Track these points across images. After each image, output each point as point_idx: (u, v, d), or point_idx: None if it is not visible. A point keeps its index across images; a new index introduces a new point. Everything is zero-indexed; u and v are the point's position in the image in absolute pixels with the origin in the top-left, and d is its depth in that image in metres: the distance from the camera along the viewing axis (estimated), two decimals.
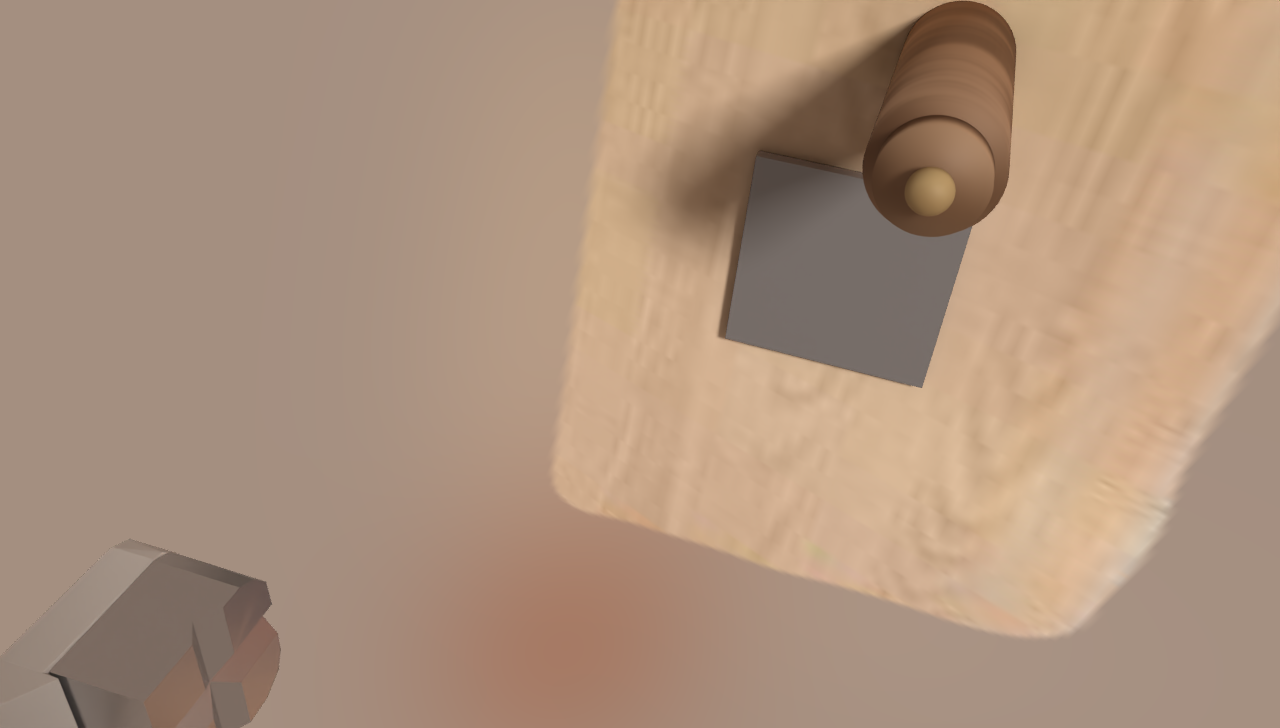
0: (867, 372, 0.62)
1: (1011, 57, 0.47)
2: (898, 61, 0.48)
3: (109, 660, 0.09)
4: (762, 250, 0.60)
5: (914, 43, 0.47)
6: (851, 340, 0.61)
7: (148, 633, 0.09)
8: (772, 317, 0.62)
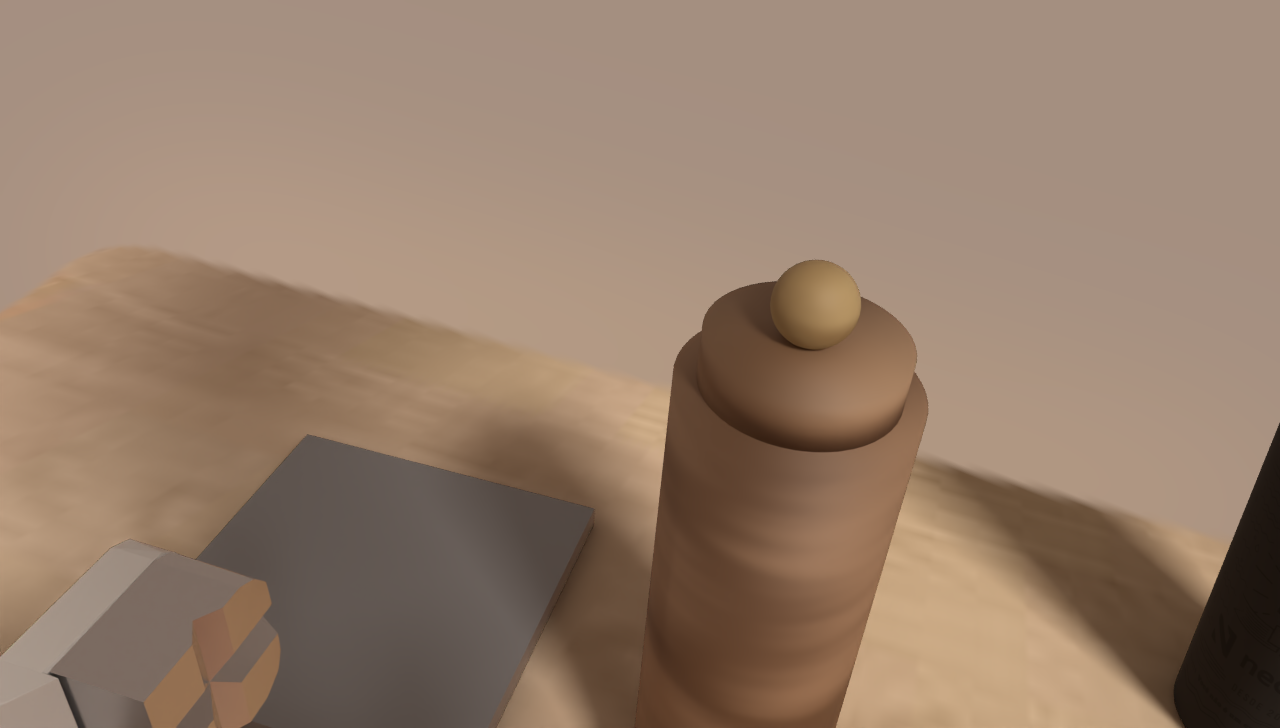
0: None
1: None
2: None
3: (109, 660, 0.09)
4: (442, 494, 0.39)
5: None
6: None
7: (148, 633, 0.09)
8: (324, 490, 0.39)
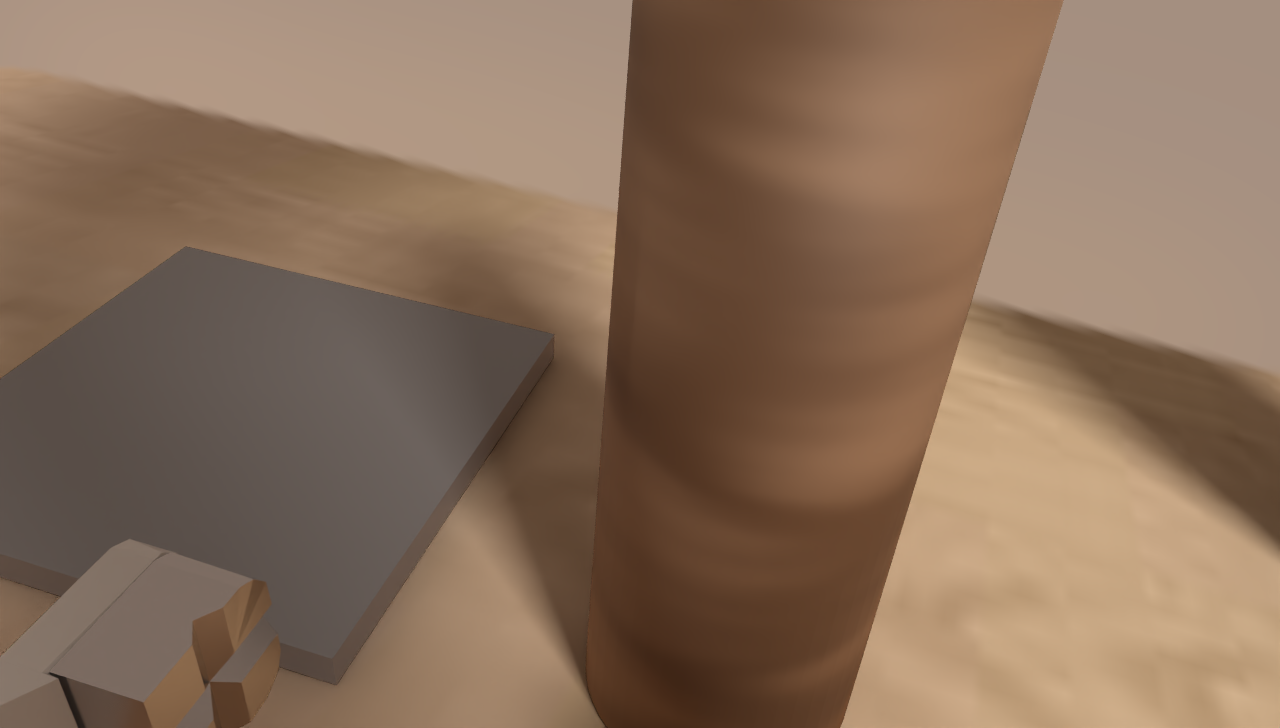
0: None
1: (801, 649, 0.17)
2: None
3: (109, 660, 0.09)
4: (354, 314, 0.29)
5: None
6: (67, 398, 0.26)
7: (148, 633, 0.09)
8: (197, 304, 0.29)
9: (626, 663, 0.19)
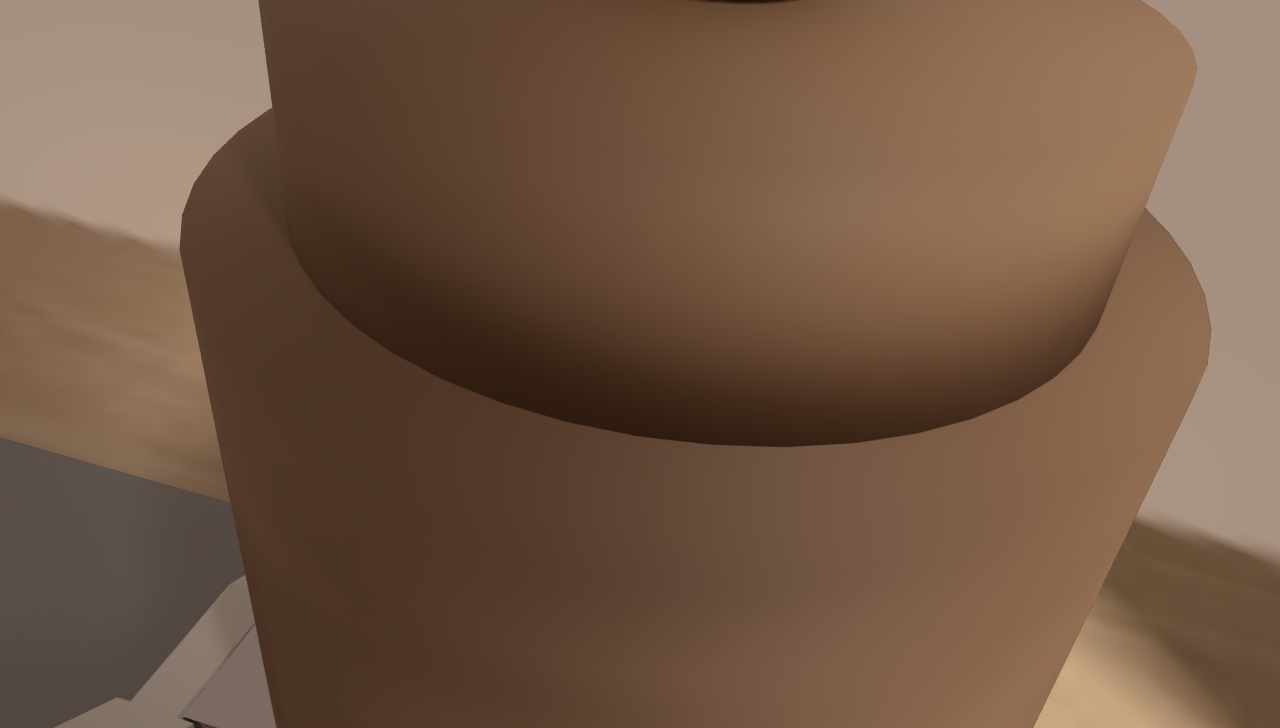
0: None
1: None
2: None
3: (243, 703, 0.09)
4: (151, 530, 0.23)
5: None
6: None
7: None
8: None
9: None
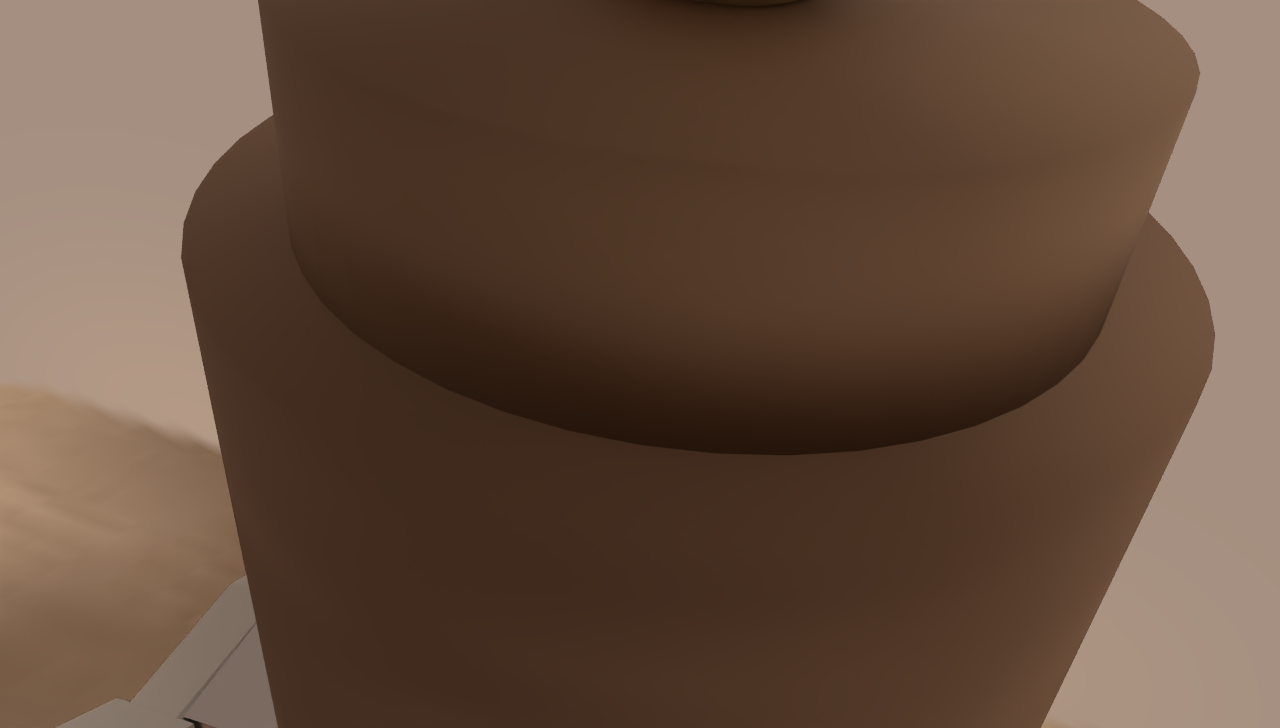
0: None
1: None
2: None
3: (243, 704, 0.09)
4: None
5: None
6: None
7: None
8: None
9: None
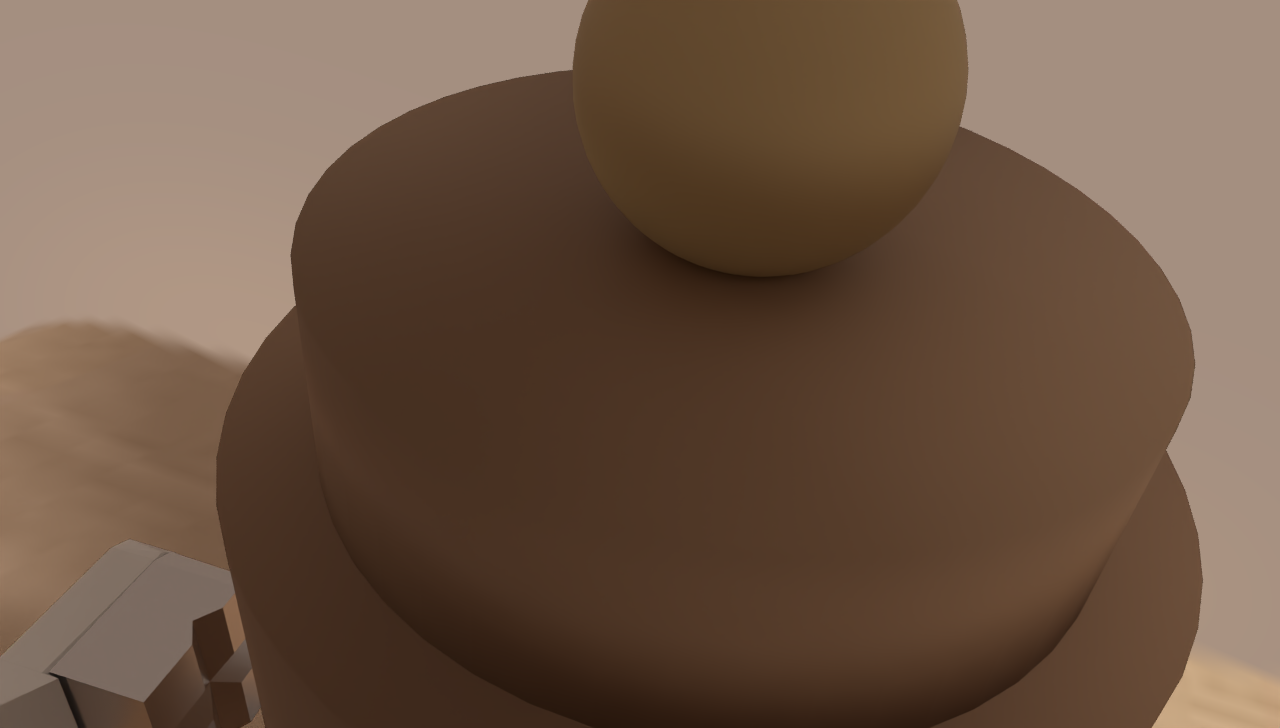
0: None
1: None
2: None
3: (109, 660, 0.09)
4: None
5: None
6: None
7: (148, 633, 0.09)
8: None
9: None
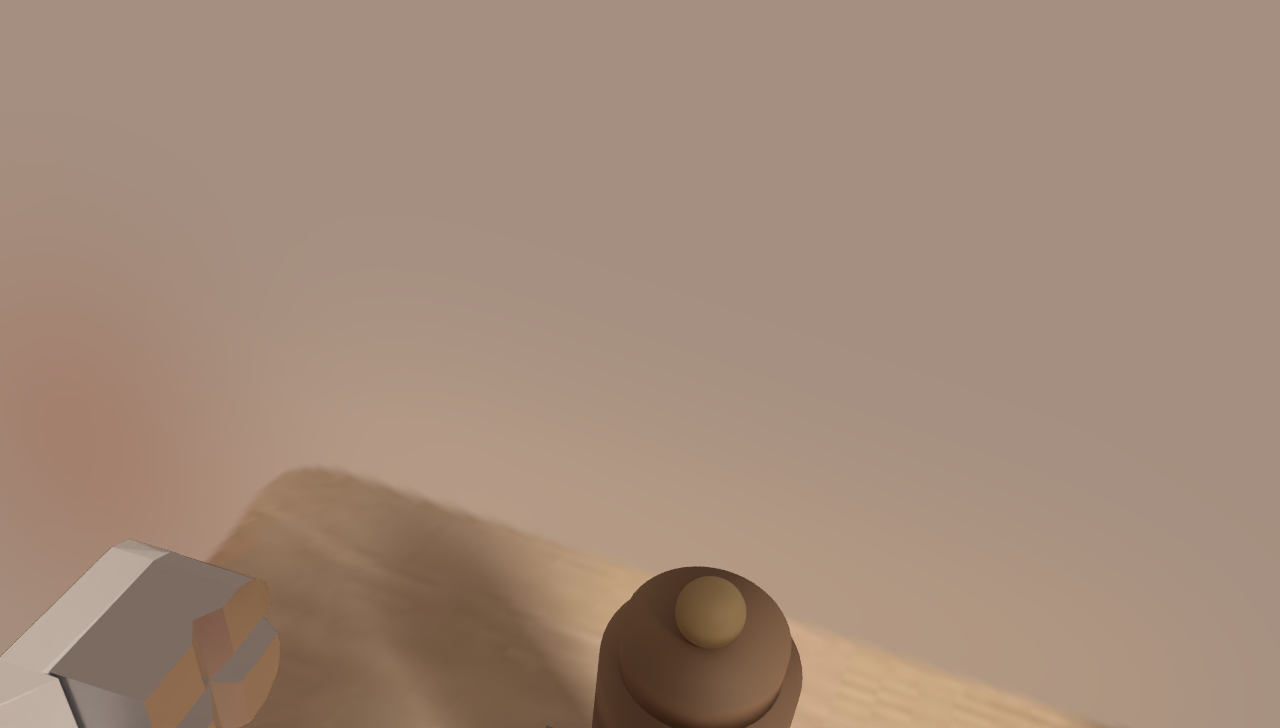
0: None
1: None
2: None
3: (109, 660, 0.09)
4: None
5: None
6: None
7: (148, 633, 0.09)
8: None
9: None
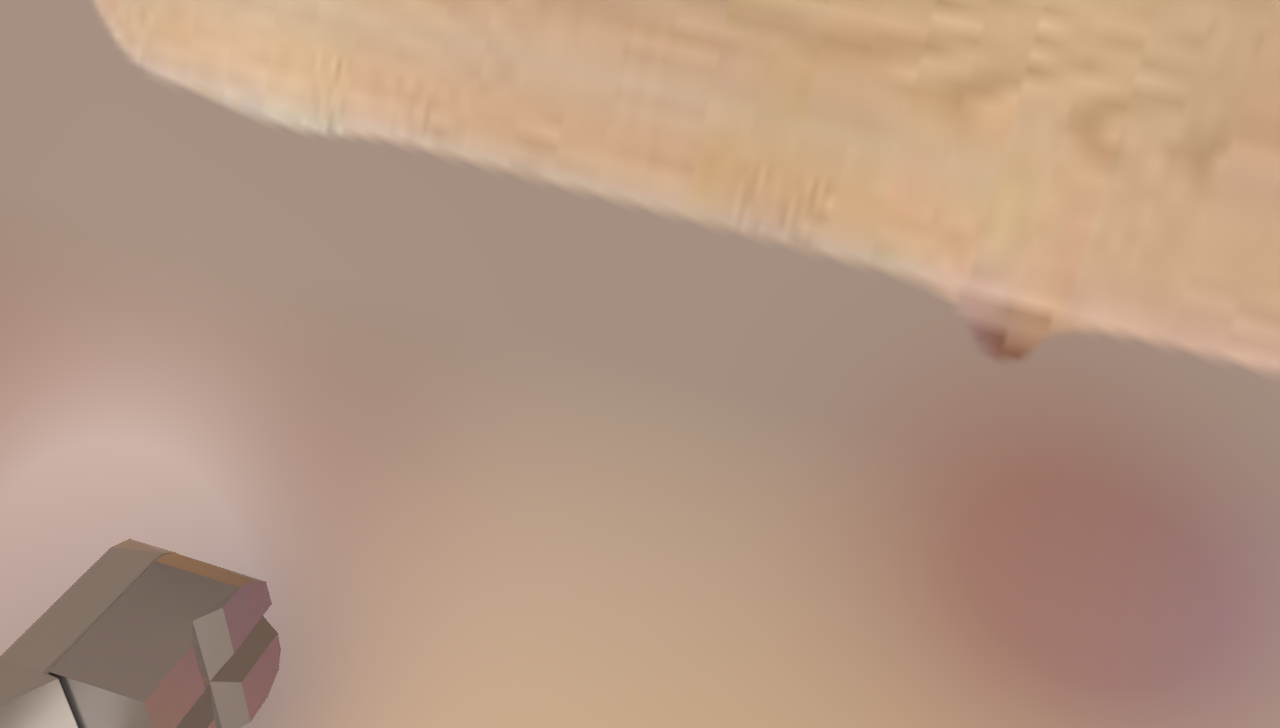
0: None
1: None
2: None
3: (109, 660, 0.09)
4: None
5: None
6: None
7: (148, 633, 0.09)
8: None
9: None
